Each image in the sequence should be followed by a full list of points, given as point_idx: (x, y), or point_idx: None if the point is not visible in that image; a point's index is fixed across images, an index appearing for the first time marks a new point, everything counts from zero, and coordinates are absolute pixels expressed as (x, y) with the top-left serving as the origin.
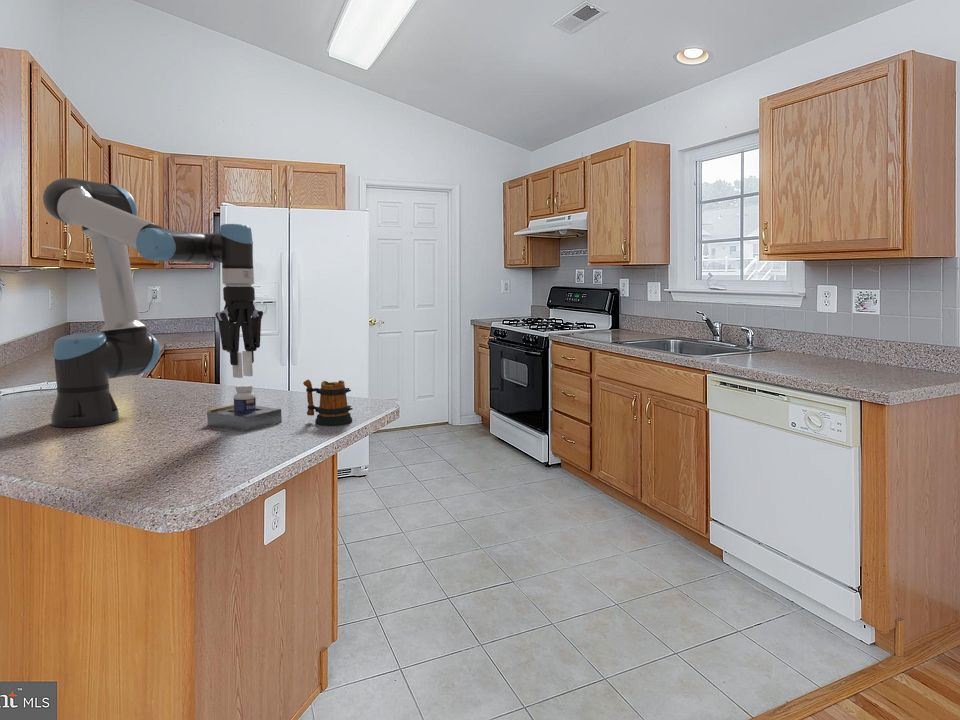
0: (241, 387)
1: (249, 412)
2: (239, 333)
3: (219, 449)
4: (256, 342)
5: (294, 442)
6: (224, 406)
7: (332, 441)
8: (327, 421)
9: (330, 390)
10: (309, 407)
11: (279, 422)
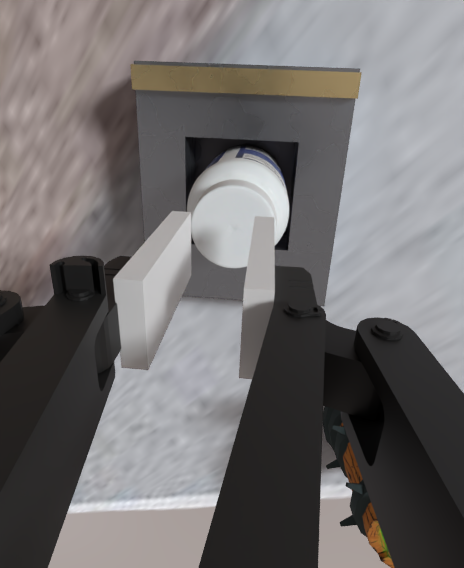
0: (197, 246)
1: None
2: (51, 545)
3: None
4: (352, 444)
5: (147, 450)
6: (224, 73)
7: (198, 505)
8: (329, 437)
9: (363, 529)
10: None
11: None
